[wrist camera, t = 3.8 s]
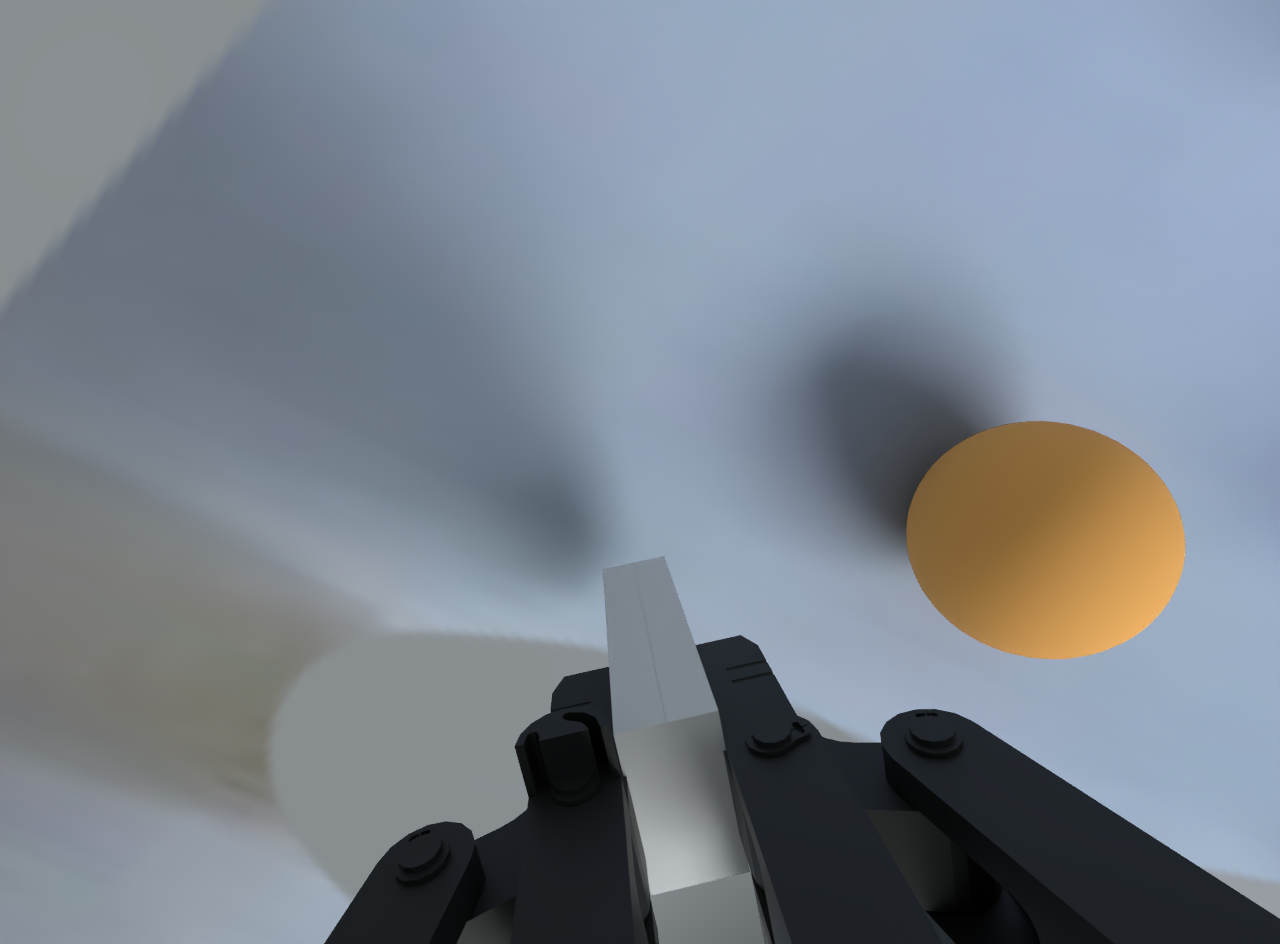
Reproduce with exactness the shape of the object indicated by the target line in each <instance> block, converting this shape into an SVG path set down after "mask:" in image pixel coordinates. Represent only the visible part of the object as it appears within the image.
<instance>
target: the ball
mask: <svg viewBox="0 0 1280 944" xmlns="http://www.w3.org/2000/svg"><path fill="white" fill-rule="evenodd" d="M906 535H907V549H908V555H909V560H910V563H911V566H912V568H913V571H914V574H915V576H916V579H917V581H918V583H919V585H920V587H921V588H922V590H923V591H924V593H925V594H926V596H927V597H928V598H929V600H930V601H931V603H932V604H933V605H934V607H935V608H936V609H937V610H938V611H939V612H940V613H941V614H942V615H943V616H944V617H945V618H946V619H947V620H948V621H949V622H950V623H952V624H953V625H954V626H956V627H957V628H958V629H960V630H961V631H963V632H964V633H966V634H967V635H969V636H970V637H972V638H974V639H976V640H978V641H979V642H981V643H983V644H986V645H988V646H991V647H993V648H996V649H999V650H1001V651H1004V652H1007V653H1012V654H1016V655H1021V656H1025V657H1030V658H1041V659H1068V658H1074V657H1081V656H1086V655H1092V654H1095V653H1099V652H1102V651H1105V650H1107V649H1109V648H1112V647H1114V646H1116V645H1119V644H1121V643H1123V642H1125V641H1127V640H1129V639H1130V638H1132V637H1134V636H1135V635H1137V634H1138V633H1139V632H1141V631H1142V630H1144V629H1145V628H1146V627H1147V626H1148V625H1149V624H1150V623H1151V622H1153V620H1154V619H1155V618H1156V617H1157V616H1158V615H1159V614H1160V613H1161V611H1162V610H1163V609H1164V607H1165V606H1166V605H1167V603H1168V602H1169V600H1170V598H1171V597H1172V595H1173V593H1174V591H1175V589H1176V587H1177V584H1178V582H1179V579H1180V576H1181V573H1182V570H1183V564H1184V559H1185V537H1184V530H1183V525H1182V520H1181V516H1180V513H1179V510H1178V508H1177V505H1176V503H1175V501H1174V499H1173V497H1172V495H1171V494H1170V492H1169V490H1168V488H1167V487H1166V485H1165V483H1164V482H1163V481H1162V480H1161V478H1160V477H1159V476H1158V475H1157V474H1156V472H1155V471H1154V470H1153V469H1152V468H1151V467H1150V466H1149V465H1148V464H1147V463H1146V462H1145V461H1144V460H1143V459H1142V458H1140V457H1139V456H1138V455H1137V454H1135V453H1134V452H1133V451H1131V450H1130V449H1128V448H1127V447H1125V446H1124V445H1122V444H1121V443H1119V442H1117V441H1115V440H1113V439H1111V438H1109V437H1107V436H1104V435H1102V434H1100V433H1098V432H1095V431H1093V430H1089V429H1085V428H1082V427H1078V426H1074V425H1071V424H1065V423H1057V422H1046V421H1028V422H1019V423H1012V424H1005V425H1001V426H998V427H994V428H991V429H988V430H985V431H982V432H980V433H977V434H975V435H973V436H970V437H969V438H967V439H965V440H963V441H962V442H960V443H958V444H957V445H955V446H954V447H953V448H951V449H950V450H949V451H947V452H946V453H945V454H943V455H942V456H941V457H940V458H939V459H938V460H937V461H936V462H935V463H934V464H933V465H932V467H931V468H930V469H929V470H928V471H927V473H926V474H925V476H924V477H923V479H922V480H921V482H920V483H919V485H918V487H917V490H916V492H915V494H914V496H913V499H912V502H911V505H910V508H909V513H908V517H907V528H906Z"/></svg>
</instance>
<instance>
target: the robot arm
mask: <svg viewBox="0 0 1280 944" xmlns="http://www.w3.org/2000/svg"><path fill="white" fill-rule="evenodd" d="M603 579H604V594H605V610H606V626H607V641H608V657H609V667H606V668H602V669H597V670H592V671H588V672H583V673H579V674H575V675H570V676H566V677H564V678H563V679H562V681H561V682H560V683H559V685H558V686H557V688H556V689H555V690H554V692H553V694H552V702H551V713H549V714H547V715H545V716H543V717H541V718H540V719H538V720H536V721H535V722H533V723H532V724H530V725H529V726H528V727H527V728H526V729H525V730H524V732H522V733H521V734H520V736H519V738H518V740H517V743H516V745H515V749H516V753H517V757H518V760H519V764H520V767H521V771H522V775H523V779H524V782H525V786H526V789H527V793H528V796H529V801H528V808H527V810H526V811H524V812H523V813H522V814H521V815H520V816H518V817H517V818H516V819H515V820H513V821H511V822H509V823H508V824H506V825H504V826H503V827H501V828H499V829H497V830H495V831H492V832H490V833H488V834H486V835H484V836H483V837H480V838H478V839H476V840H474V837H473V834H472V831H471V830H470V829H468V828H467V827H466V826H464V825H463V824H462V823H455V822H441V823H436V824H431V825H427V826H425V827H423V828H421V829H419V830H416V831H414V832H412V833H410V834H408V835H407V836H405V837H404V838H403V839H402V840H400V841H399V842H397V843H396V844H395V845H394V846H392V847H391V848H390V849H389V850H388V851H387V853H386V854H385V855H384V856H383V857H382V858H381V860H380V861H379V862H378V863H377V865H376V866H375V868H374V869H373V871H372V872H371V874H370V875H369V877H368V878H367V880H366V881H365V883H364V884H363V886H362V888H361V889H360V890H359V892H358V893H357V895H356V896H355V898H354V899H353V901H352V902H351V904H350V905H349V907H348V908H347V910H346V911H345V913H344V915H343V916H342V918H341V919H340V921H339V922H338V924H337V925H336V927H335V928H334V930H333V931H332V933H331V934H330V936H329V937H328V939H327V940H326V942H325V943H324V944H659V939H658V930H657V925H656V921H655V916H654V913H653V908H652V904H651V900H650V892H651V895H654V894H659V893H663V892H667V891H672V890H676V889H680V888H684V887H688V886H693V885H697V884H701V883H705V882H709V881H714V880H718V879H721V878H726V877H730V876H734V875H738V874H743V873H747V872H750V870H751V875H752V880H753V885H754V890H755V895H756V900H757V906H758V911H759V916H760V921H761V926H762V931H763V936H764V942H765V944H1280V919H1279V918H1278V917H1276V916H1275V915H1273V914H1271V913H1270V912H1268V911H1267V910H1265V909H1264V908H1262V907H1261V906H1259V905H1257V904H1256V903H1254V902H1253V901H1251V900H1250V899H1248V898H1247V897H1245V896H1244V895H1242V894H1240V893H1239V892H1237V891H1236V890H1234V889H1233V888H1231V887H1229V886H1228V885H1226V884H1225V883H1223V882H1221V881H1220V880H1219V879H1217V878H1216V877H1214V876H1212V875H1211V874H1209V873H1208V872H1206V871H1205V870H1203V869H1202V868H1200V867H1198V866H1197V865H1195V864H1194V863H1192V862H1191V861H1189V860H1188V859H1186V858H1184V857H1183V856H1181V855H1180V854H1178V853H1177V852H1175V851H1174V850H1172V849H1170V848H1169V847H1167V846H1166V845H1164V844H1163V843H1161V842H1160V841H1158V840H1156V839H1155V838H1153V837H1152V836H1150V835H1149V834H1147V833H1146V832H1144V831H1142V830H1141V829H1139V828H1138V827H1136V826H1135V825H1133V824H1132V823H1130V822H1128V821H1127V820H1125V819H1124V818H1122V817H1121V816H1119V815H1118V814H1116V813H1114V812H1113V811H1111V810H1110V809H1108V808H1107V807H1105V806H1104V805H1102V804H1100V803H1099V802H1097V801H1096V800H1094V799H1093V798H1091V797H1090V796H1088V795H1086V794H1085V793H1083V792H1082V791H1080V790H1079V789H1077V788H1076V787H1074V786H1072V785H1071V784H1069V783H1068V782H1066V781H1065V780H1063V779H1062V778H1060V777H1058V776H1057V775H1055V774H1054V773H1052V772H1051V771H1049V770H1048V769H1046V768H1044V767H1043V766H1041V765H1040V764H1038V763H1037V762H1035V761H1034V760H1032V759H1030V758H1029V757H1027V756H1026V755H1024V754H1023V753H1021V752H1020V751H1018V750H1017V749H1015V748H1013V747H1012V746H1010V745H1009V744H1007V743H1006V742H1004V741H1003V740H1001V739H999V738H998V737H996V736H995V735H993V734H992V733H990V732H989V731H987V730H985V729H984V728H982V727H981V726H979V725H978V724H976V723H975V722H973V721H971V720H969V719H967V718H964V717H962V716H960V715H958V714H956V713H951V712H946V711H942V710H937V709H917V710H912V711H908V712H904V713H900V714H898V715H896V716H895V717H893V718H892V719H890V720H889V721H887V722H886V723H885V725H884V727H883V729H882V731H881V732H880V736H881V743H852V742H840V741H835V740H831V739H827V738H824V737H822V736H821V735H820V733H819V731H818V730H817V729H816V728H815V727H814V726H813V725H812V724H811V723H810V721H808V720H806V719H804V718H801V717H799V716H797V715H796V713H795V711H794V709H793V708H792V706H791V704H790V702H789V700H788V699H787V697H786V695H785V693H784V691H783V690H782V688H781V686H780V684H779V682H778V681H777V679H776V677H775V675H774V674H773V672H772V670H771V668H770V666H769V665H768V663H767V662H766V659H765V657H764V656H763V654H762V652H761V650H760V648H759V647H758V645H757V644H755V643H753V642H751V641H750V640H748V639H746V638H744V637H743V636H741V635H739V636H735V637H730V638H726V639H721V640H717V641H713V642H708V643H704V644H699V645H695V643H694V640H693V637H692V634H691V631H690V629H689V626H688V623H687V620H686V617H685V614H684V611H683V609H682V606H681V603H680V600H679V597H678V594H677V592H676V589H675V586H674V583H673V580H672V577H671V575H670V572H669V569H668V566H667V563H666V560H665V558H664V556H663V557H658V558H654V559H649V560H645V561H640V562H636V563H631V564H626V565H622V566H617V567H613V568H608V569H604V570H603ZM748 864H749V865H748ZM749 867H750V870H749ZM649 887H650V892H649Z"/></svg>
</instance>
